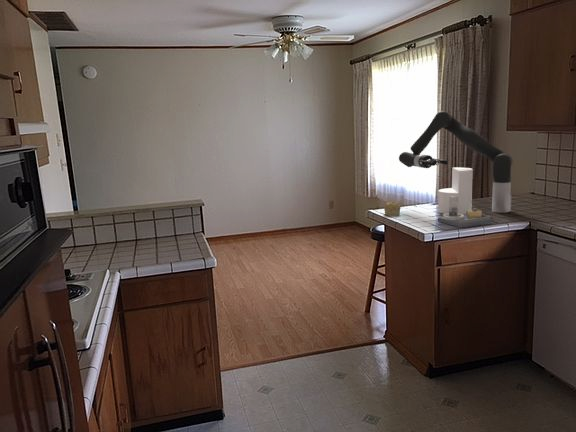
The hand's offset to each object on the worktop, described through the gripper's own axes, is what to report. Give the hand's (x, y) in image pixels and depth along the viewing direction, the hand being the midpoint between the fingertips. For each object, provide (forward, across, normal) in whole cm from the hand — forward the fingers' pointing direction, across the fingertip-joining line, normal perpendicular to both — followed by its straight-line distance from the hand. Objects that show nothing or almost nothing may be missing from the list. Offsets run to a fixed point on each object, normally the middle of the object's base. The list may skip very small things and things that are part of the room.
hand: (440, 163), depth 262 cm
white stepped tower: (-6, +15, +30) cm, 34 cm away
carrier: (+19, +1, +30) cm, 36 cm away
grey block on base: (+15, -4, +28) cm, 32 cm away
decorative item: (-18, -20, +30) cm, 40 cm away
